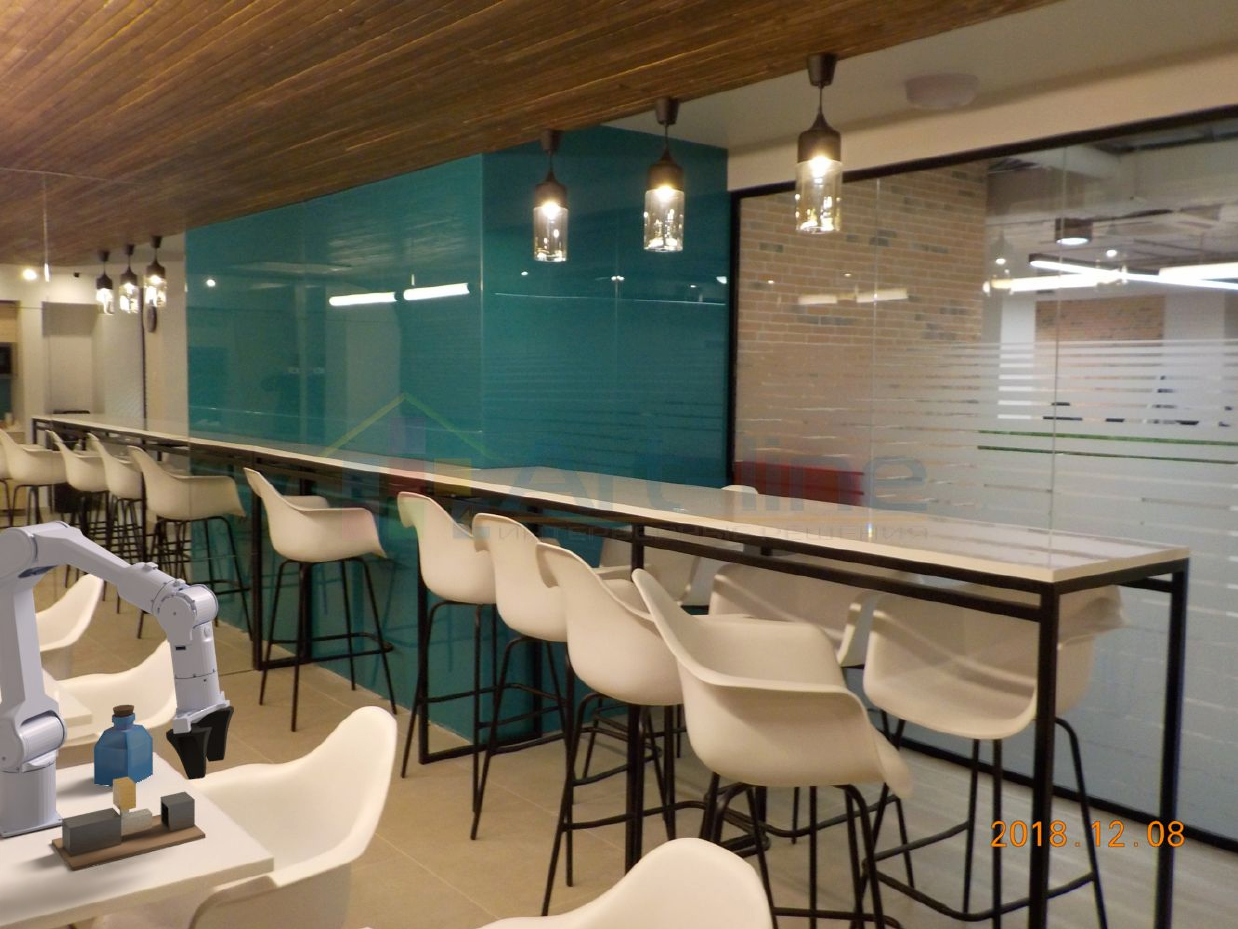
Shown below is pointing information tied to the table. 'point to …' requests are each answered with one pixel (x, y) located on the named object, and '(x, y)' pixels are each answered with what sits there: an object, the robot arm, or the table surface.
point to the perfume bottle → (123, 750)
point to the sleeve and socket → (106, 825)
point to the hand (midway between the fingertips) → (206, 769)
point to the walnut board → (132, 845)
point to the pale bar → (130, 807)
